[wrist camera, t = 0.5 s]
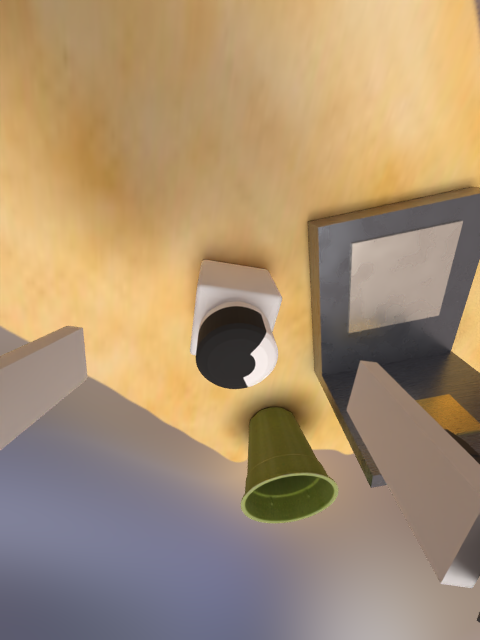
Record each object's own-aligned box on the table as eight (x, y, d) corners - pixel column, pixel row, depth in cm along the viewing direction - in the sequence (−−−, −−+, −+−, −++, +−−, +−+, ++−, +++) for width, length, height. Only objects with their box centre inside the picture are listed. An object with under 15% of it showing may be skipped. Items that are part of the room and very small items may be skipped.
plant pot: (259, 452, 44) (271, 532, 34) (220, 417, 38) (221, 500, 29) (321, 425, 41) (352, 503, 32) (288, 382, 36) (314, 461, 26)
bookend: (307, 221, 25) (405, 275, 12) (471, 187, 24) (759, 204, 11) (314, 371, 35) (370, 487, 22) (429, 348, 34) (556, 454, 22)
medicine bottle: (195, 317, 29) (183, 396, 19) (202, 257, 26) (191, 315, 15) (254, 325, 30) (273, 403, 20) (268, 268, 27) (300, 328, 17)
